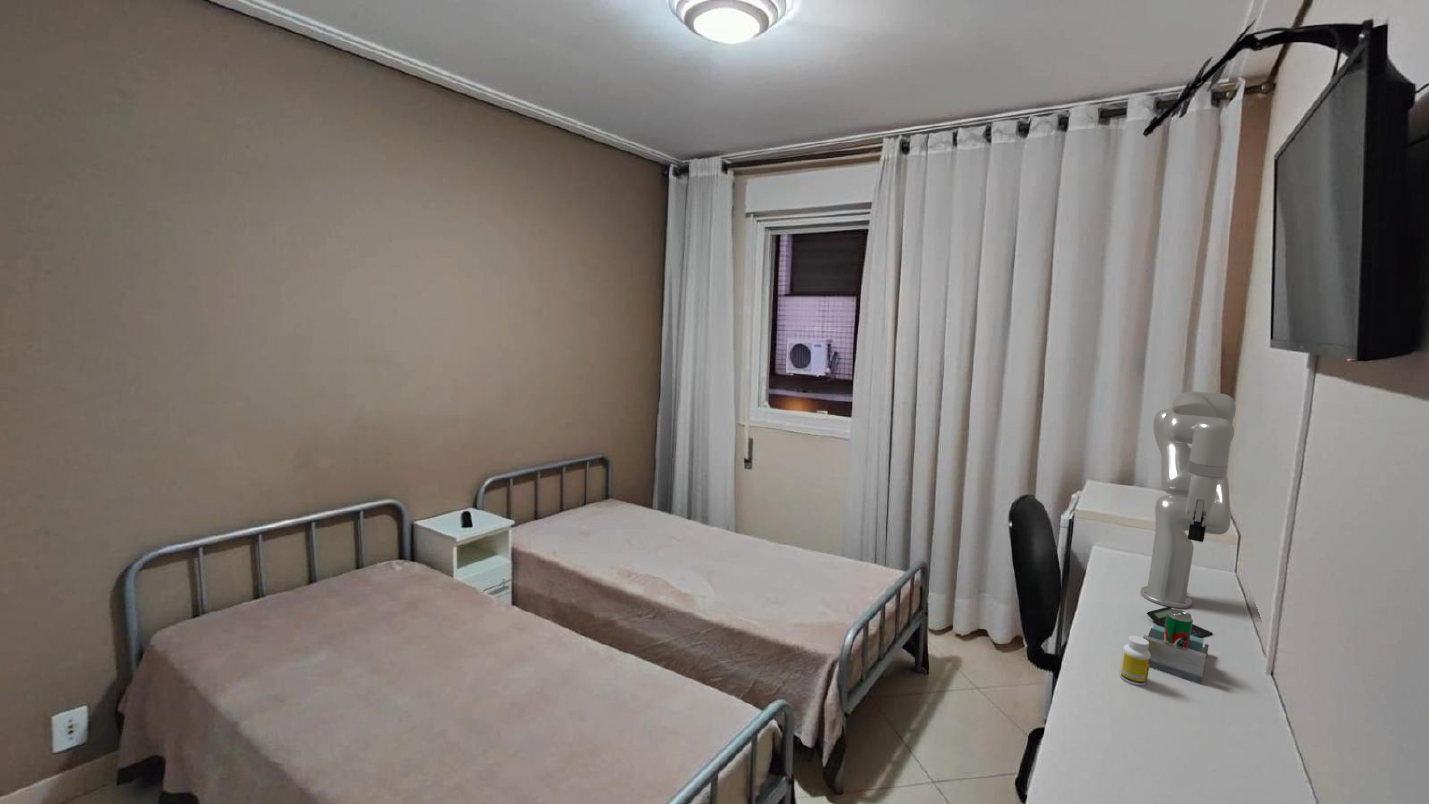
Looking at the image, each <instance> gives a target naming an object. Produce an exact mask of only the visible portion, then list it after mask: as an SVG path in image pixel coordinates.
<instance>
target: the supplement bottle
mask: <svg viewBox="0 0 1429 804" xmlns="http://www.w3.org/2000/svg"><path fill="white" fill-rule="evenodd" d="M1148 648H1149V642H1148V641H1147V640H1146V639H1144V638H1143V637H1142V636H1139V635H1138V636H1137V635H1129V636H1128V638H1127V643H1126V644H1124V646H1123V647H1122V651H1121V652H1122V654H1121V659H1120V665H1119V666H1120V667H1119V671H1118V672H1119V673H1118V674H1119V677H1120V678H1121V679H1122V680H1123V681H1124V682H1127V683H1128V684H1131V685H1133V686H1145V685H1146V684H1147V683H1148V676H1149V670H1150V667H1149V665H1150V659H1151V654H1150V652H1149V651H1148V650H1147V649H1148Z"/></svg>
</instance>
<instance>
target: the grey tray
mask: <svg viewBox="0 0 1429 804" xmlns="http://www.w3.org/2000/svg"><path fill="white" fill-rule="evenodd" d="M1152 628H1153V627H1150V630H1149V633H1148V635H1146V634H1145V635H1143V637H1142V638H1144V639H1146V640H1147V641H1148V642H1149V648H1148V649H1147V650H1148V651H1149V652H1150V654H1151V659H1150V665H1149V669H1154V670H1156V669H1157V670H1156V671H1159V670H1160V671H1159V672H1162V673H1165V672H1166V673H1165V674H1168V673H1169V674H1168V675H1171V676H1175V677H1178V678H1180V677H1181V679H1184V680H1186V681H1189V682H1193V683H1196V684H1199V685H1202V681H1203V677H1204V676H1203V675H1204V672H1205V667H1206V662H1207V657H1208V651H1209V646H1210V645H1209V644H1207V643H1205V644H1204V646H1203V647H1202V653H1201V652H1198V651H1195V650H1192V649H1188V648H1185V647H1182V646H1179V645H1175V644H1172V643H1169V642H1166V641H1162V640H1159V639H1156V638H1152V637H1151V634H1152Z"/></svg>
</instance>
